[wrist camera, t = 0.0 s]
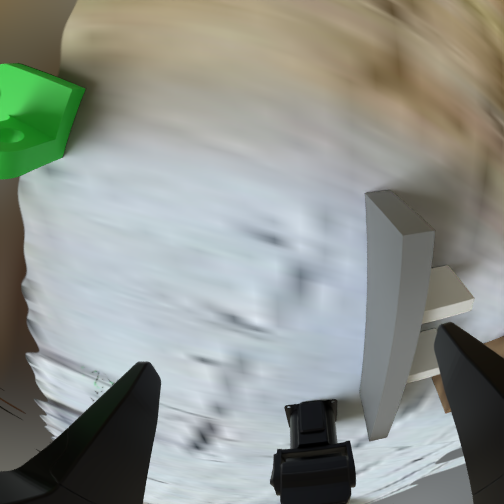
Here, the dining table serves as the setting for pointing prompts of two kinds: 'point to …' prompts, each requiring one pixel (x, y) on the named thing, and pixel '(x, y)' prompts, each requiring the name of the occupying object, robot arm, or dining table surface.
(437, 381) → the rail
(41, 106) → the mechanical part
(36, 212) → the dining table surface
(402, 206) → the slab with two fins
